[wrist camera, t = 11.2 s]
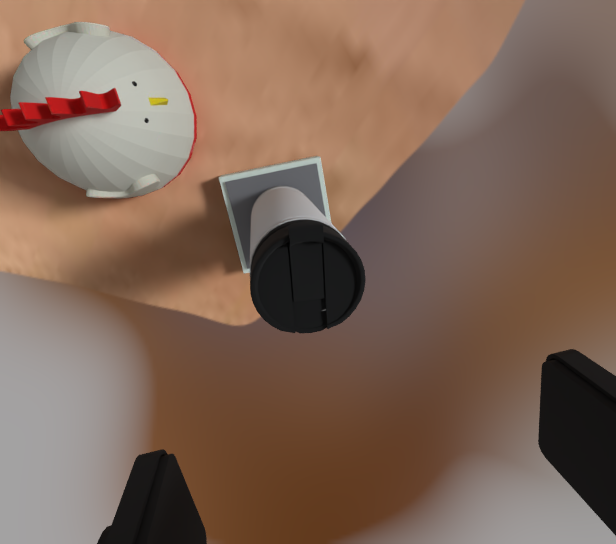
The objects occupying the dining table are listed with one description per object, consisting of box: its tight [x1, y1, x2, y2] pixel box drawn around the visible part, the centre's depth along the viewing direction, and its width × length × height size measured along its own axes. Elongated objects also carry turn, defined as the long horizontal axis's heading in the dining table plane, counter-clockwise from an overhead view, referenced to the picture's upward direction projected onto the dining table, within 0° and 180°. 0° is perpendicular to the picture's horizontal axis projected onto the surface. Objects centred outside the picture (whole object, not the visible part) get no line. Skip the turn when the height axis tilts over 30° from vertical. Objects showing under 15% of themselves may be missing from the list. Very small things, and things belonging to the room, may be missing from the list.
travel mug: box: [250, 186, 365, 333], centre depth 29 cm, size 6×7×20 cm
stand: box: [219, 156, 331, 273], centre depth 40 cm, size 10×10×2 cm
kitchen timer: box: [0, 22, 197, 198], centre depth 29 cm, size 14×14×15 cm
